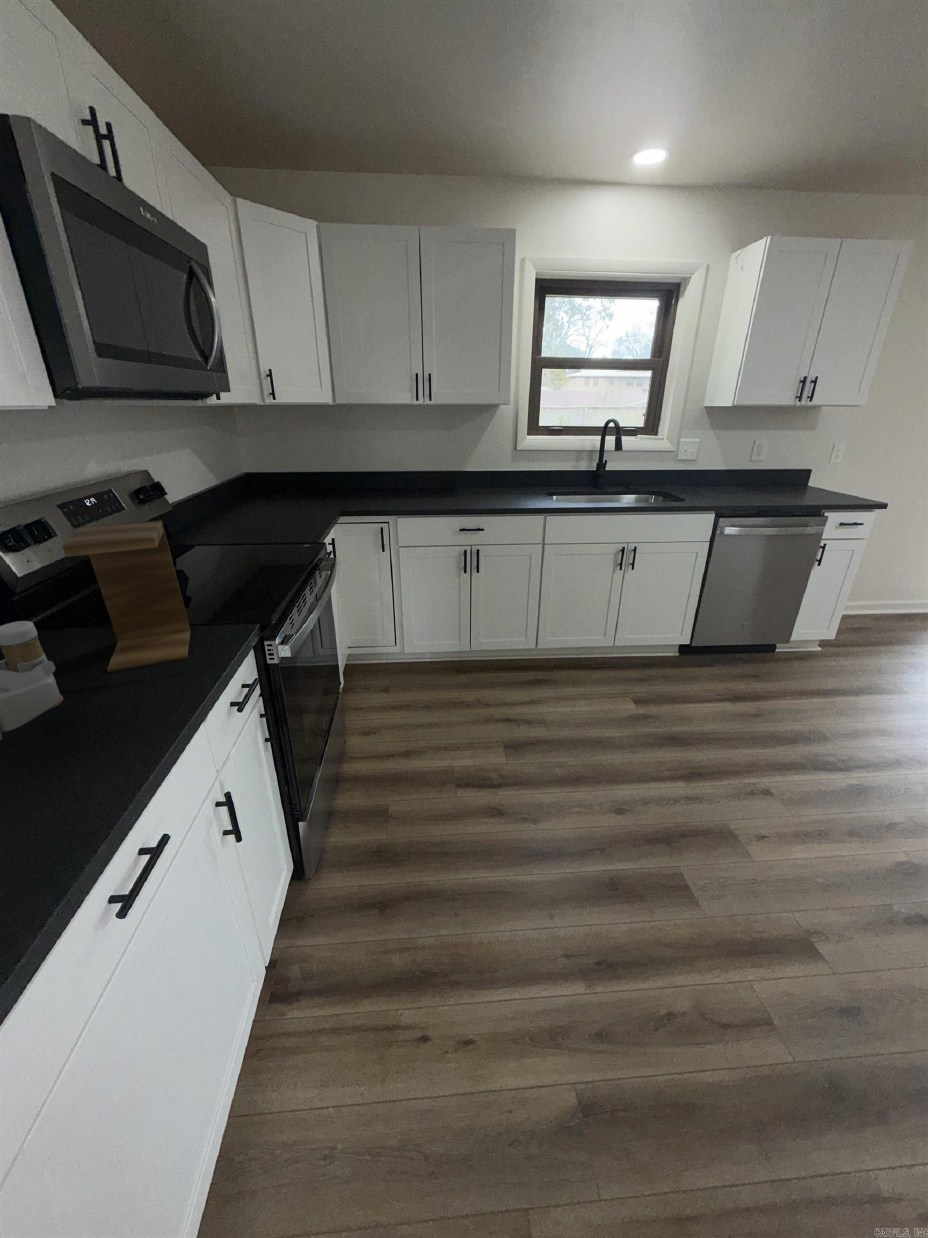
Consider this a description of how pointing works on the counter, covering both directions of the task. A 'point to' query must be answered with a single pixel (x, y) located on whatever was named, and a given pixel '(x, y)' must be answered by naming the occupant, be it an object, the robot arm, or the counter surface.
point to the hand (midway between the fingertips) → (35, 662)
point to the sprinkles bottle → (22, 648)
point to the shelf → (137, 591)
